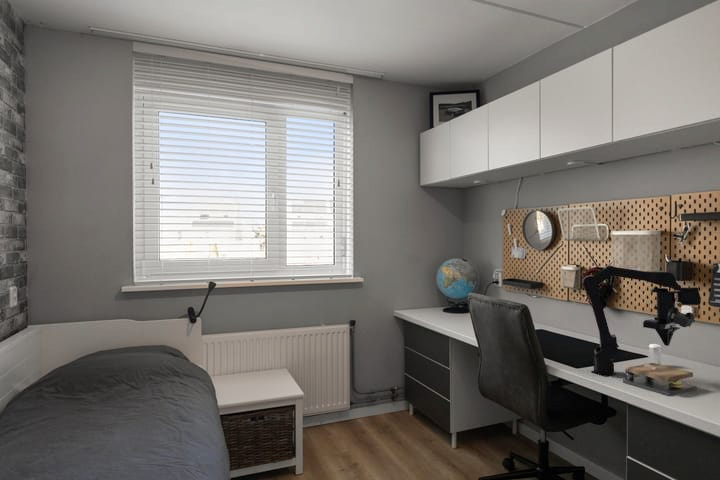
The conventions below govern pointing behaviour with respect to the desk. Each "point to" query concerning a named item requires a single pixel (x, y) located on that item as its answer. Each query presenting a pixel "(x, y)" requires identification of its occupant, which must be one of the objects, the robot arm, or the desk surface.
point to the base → (658, 384)
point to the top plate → (660, 372)
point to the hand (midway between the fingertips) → (666, 345)
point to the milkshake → (655, 353)
